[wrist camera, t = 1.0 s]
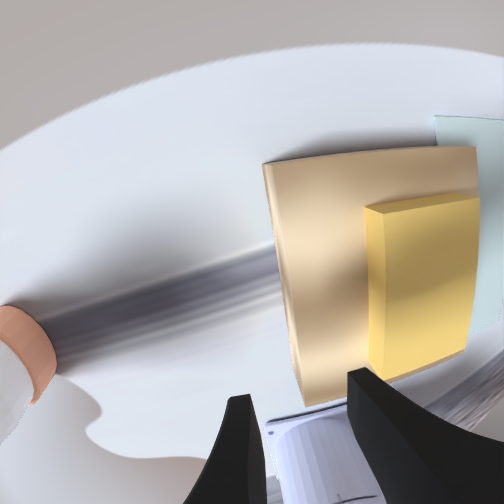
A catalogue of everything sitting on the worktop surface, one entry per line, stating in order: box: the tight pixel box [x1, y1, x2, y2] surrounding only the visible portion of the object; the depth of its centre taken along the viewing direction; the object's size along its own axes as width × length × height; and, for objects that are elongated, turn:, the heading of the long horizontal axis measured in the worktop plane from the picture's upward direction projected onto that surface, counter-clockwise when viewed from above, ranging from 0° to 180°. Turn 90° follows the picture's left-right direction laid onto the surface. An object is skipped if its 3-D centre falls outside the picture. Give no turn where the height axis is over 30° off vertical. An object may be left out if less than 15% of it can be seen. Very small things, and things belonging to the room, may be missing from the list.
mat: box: [433, 116, 504, 335], centre depth 19 cm, size 18×8×1 cm, turn 10°
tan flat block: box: [262, 146, 479, 407], centre depth 17 cm, size 14×12×4 cm
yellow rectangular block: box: [364, 193, 480, 381], centre depth 14 cm, size 9×6×2 cm, turn 10°
